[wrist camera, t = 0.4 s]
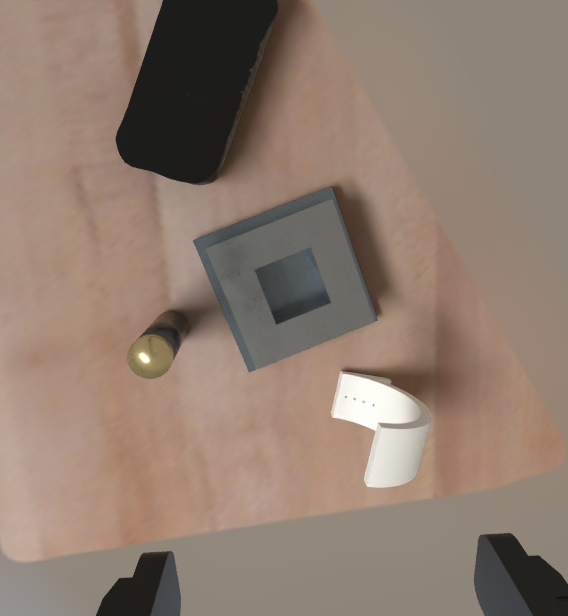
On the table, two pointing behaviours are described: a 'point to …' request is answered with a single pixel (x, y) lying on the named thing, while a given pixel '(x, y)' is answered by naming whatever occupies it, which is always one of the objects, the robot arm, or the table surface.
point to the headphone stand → (384, 425)
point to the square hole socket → (287, 279)
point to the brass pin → (158, 345)
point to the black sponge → (194, 86)
